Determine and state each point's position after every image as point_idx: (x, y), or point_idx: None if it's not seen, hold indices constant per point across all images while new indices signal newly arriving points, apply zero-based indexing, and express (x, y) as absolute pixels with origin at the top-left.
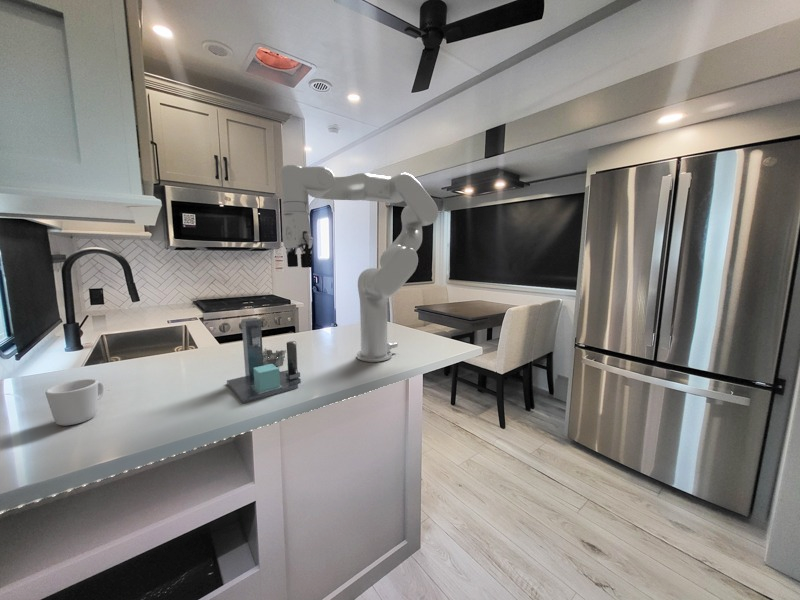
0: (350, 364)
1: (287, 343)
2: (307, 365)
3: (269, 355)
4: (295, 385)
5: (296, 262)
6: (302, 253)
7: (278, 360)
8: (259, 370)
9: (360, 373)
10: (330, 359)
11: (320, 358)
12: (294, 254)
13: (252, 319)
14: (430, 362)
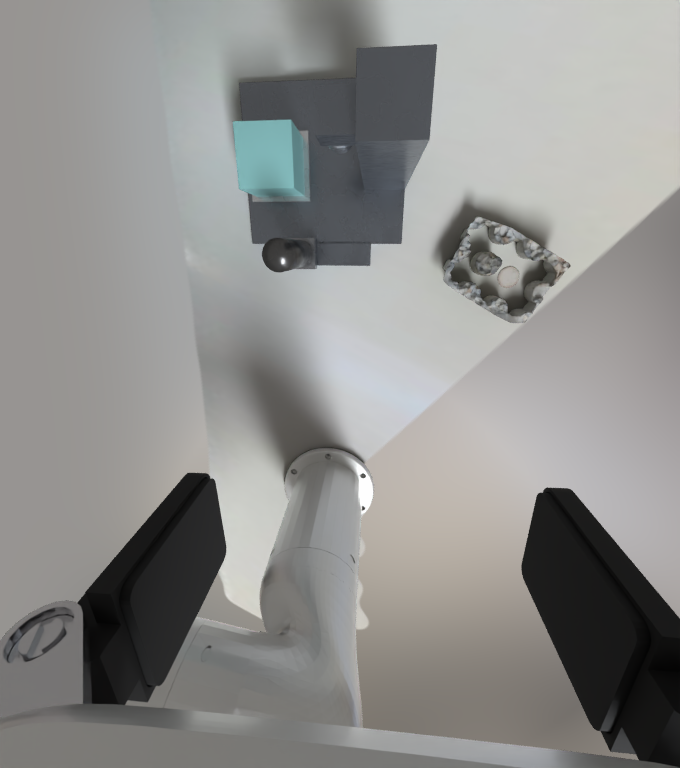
0: (319, 416)
1: (273, 238)
2: (389, 334)
3: (549, 276)
4: (252, 237)
5: (540, 599)
6: (71, 606)
7: (446, 268)
8: (255, 129)
9: (251, 399)
10: (389, 401)
11: (417, 387)
12: (622, 715)
13: (388, 103)
14: None
